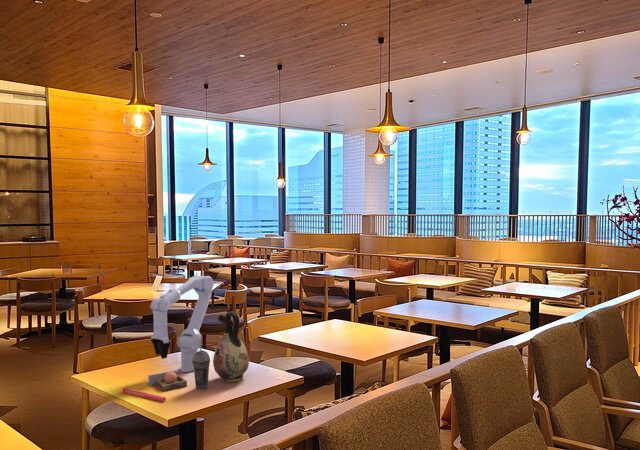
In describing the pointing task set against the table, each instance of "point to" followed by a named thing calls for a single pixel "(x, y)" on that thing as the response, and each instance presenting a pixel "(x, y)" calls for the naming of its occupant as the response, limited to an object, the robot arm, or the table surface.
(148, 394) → the pink long bar
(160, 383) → the tray
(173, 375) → the ball
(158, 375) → the partition
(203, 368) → the beverage cup
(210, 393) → the table surface
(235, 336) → the ceramic jug
